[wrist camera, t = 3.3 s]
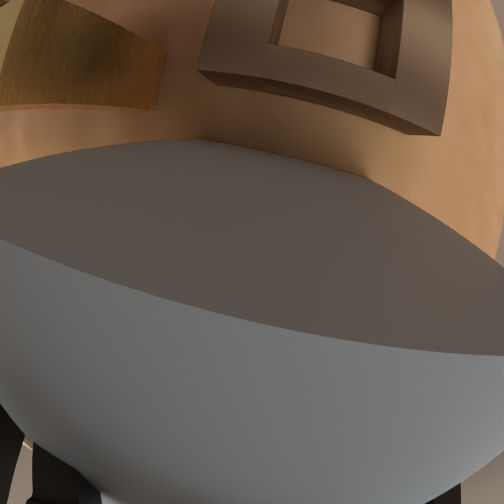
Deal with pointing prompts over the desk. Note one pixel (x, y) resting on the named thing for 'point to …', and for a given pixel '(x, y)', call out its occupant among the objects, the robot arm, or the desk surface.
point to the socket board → (340, 61)
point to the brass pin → (73, 60)
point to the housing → (244, 329)
